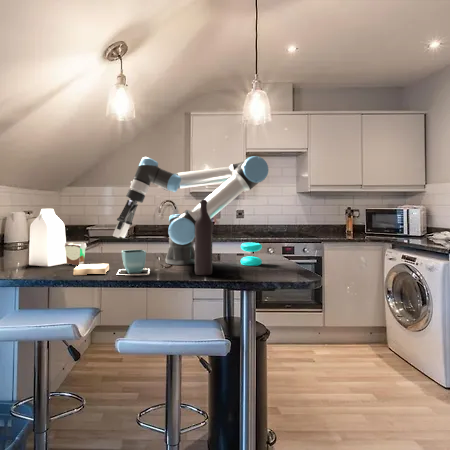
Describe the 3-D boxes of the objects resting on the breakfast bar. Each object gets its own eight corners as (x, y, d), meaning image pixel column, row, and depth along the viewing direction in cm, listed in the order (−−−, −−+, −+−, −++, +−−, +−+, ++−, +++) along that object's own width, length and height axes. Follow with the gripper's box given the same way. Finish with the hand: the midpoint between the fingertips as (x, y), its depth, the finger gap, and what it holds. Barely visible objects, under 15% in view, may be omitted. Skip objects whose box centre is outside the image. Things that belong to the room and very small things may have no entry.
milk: (48, 266, 172) (47, 208, 171) (28, 265, 176) (27, 208, 175) (67, 262, 184) (66, 208, 182) (49, 261, 188) (47, 208, 186)
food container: (92, 264, 179) (92, 243, 178) (81, 266, 174) (81, 244, 173) (75, 262, 185) (75, 241, 185) (64, 263, 180) (64, 242, 180)
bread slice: (108, 269, 165) (108, 263, 164) (105, 274, 153) (105, 267, 153) (79, 270, 162) (79, 264, 162) (73, 275, 151) (73, 268, 151)
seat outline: (149, 269, 165) (149, 268, 165) (149, 274, 152) (149, 273, 152) (119, 270, 163) (119, 269, 163) (116, 275, 150) (116, 274, 150)
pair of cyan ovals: (257, 245, 172) (237, 244, 177) (257, 267, 173) (237, 265, 177) (265, 243, 181) (245, 242, 186) (264, 263, 182) (245, 262, 186)
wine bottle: (214, 275, 152) (214, 199, 151) (196, 276, 150) (196, 199, 149) (209, 272, 159) (209, 199, 157) (193, 272, 157) (193, 199, 155)
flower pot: (121, 271, 160) (121, 250, 159) (142, 270, 163) (142, 249, 163) (124, 275, 152) (124, 252, 151) (146, 273, 155) (146, 251, 155)
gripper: (133, 192, 179) (116, 234, 177) (124, 184, 154) (103, 233, 152) (148, 198, 179) (131, 240, 178) (141, 191, 154) (121, 240, 153)
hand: (118, 237), depth 165 cm, fingers open, 13 cm apart
